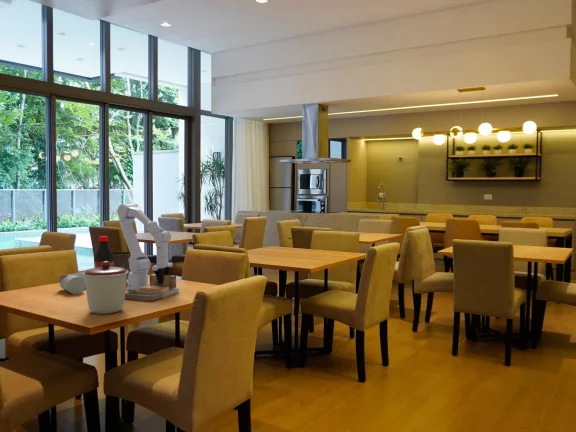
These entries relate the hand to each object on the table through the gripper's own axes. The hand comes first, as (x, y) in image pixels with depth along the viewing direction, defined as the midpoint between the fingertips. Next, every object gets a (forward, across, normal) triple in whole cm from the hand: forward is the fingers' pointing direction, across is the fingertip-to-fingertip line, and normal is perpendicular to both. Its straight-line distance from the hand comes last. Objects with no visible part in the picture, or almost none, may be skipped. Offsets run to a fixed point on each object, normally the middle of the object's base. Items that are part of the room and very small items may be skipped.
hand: (162, 283), depth 258 cm
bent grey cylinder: (+5, -11, +44) cm, 45 cm away
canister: (+5, -42, -2) cm, 43 cm away
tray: (+4, -16, 0) cm, 17 cm away
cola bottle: (+5, -30, +10) cm, 32 cm away
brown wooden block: (+2, 0, 0) cm, 2 cm away
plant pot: (+5, +14, +38) cm, 40 cm away
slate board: (+4, -4, 0) cm, 6 cm away
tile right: (+2, -8, -4) cm, 9 cm away
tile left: (+2, -8, +4) cm, 9 cm away
